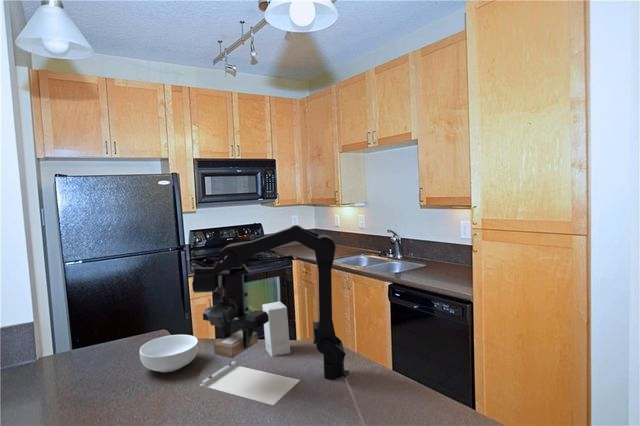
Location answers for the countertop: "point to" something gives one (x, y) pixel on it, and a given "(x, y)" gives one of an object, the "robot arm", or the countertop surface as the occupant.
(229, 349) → the frame
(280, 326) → the skincare box
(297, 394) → the countertop surface
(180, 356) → the cereal bowl
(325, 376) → the robot arm
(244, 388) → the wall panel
